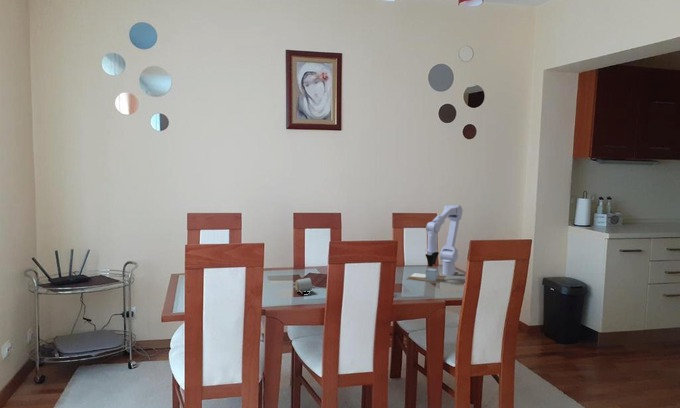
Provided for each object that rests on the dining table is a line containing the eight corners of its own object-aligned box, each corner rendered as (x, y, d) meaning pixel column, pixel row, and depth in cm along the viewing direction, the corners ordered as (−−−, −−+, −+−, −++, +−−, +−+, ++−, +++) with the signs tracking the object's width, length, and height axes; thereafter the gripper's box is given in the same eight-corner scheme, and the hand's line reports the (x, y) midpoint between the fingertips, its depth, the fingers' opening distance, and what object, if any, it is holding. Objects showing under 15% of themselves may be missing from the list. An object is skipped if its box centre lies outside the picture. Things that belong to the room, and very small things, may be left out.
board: (414, 274, 296) (414, 273, 296) (446, 277, 287) (446, 276, 287) (405, 281, 279) (405, 279, 279) (439, 284, 271) (439, 282, 271)
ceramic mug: (294, 291, 256) (294, 277, 256) (308, 290, 259) (308, 276, 258) (299, 296, 246) (299, 282, 246) (314, 295, 249) (314, 281, 248)
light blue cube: (428, 278, 283) (428, 268, 282) (437, 279, 280) (437, 269, 280) (425, 280, 278) (425, 270, 277) (435, 281, 275) (435, 271, 275)
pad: (414, 273, 294) (414, 273, 294) (428, 275, 290) (428, 274, 290) (410, 276, 286) (410, 276, 286) (424, 278, 282) (424, 277, 282)
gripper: (428, 240, 285) (428, 262, 286) (422, 243, 272) (422, 266, 273) (440, 241, 283) (439, 263, 284) (435, 244, 269) (434, 268, 270)
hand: (431, 265), depth 278 cm, fingers open, 7 cm apart
